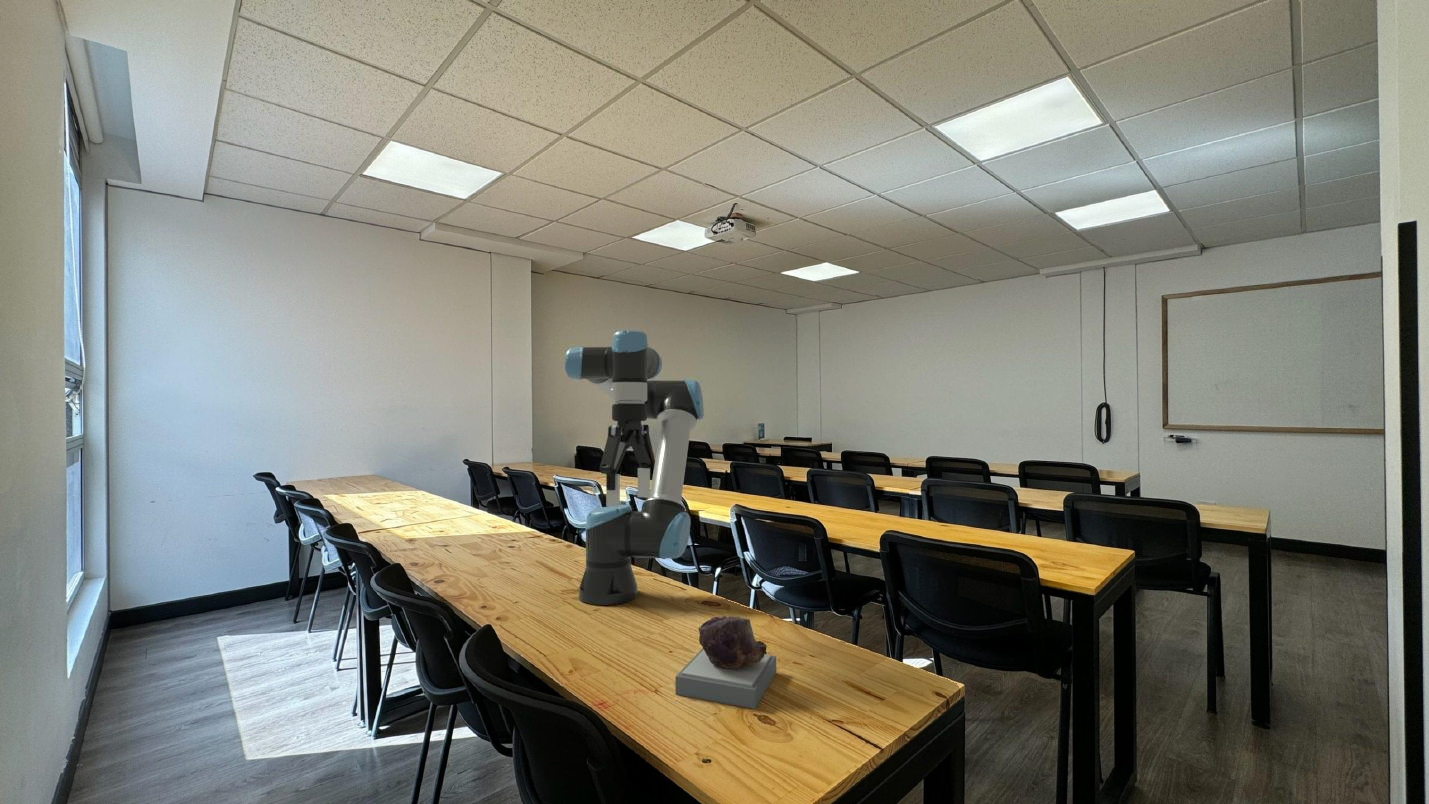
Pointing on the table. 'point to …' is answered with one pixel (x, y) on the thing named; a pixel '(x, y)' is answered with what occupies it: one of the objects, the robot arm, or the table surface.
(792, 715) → the table surface
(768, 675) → the grey flat square block
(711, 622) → the rock
